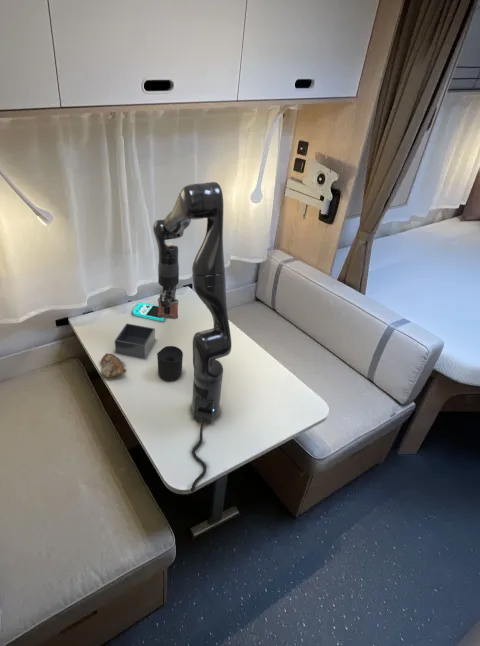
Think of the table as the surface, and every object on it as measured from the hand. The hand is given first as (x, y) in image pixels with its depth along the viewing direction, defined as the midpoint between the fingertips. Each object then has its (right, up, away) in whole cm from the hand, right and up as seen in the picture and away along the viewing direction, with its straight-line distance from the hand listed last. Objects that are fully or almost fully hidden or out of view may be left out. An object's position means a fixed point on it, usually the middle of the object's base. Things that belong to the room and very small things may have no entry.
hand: (168, 311), depth 155 cm
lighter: (0, -2, +1) cm, 3 cm away
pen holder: (+1, -24, -4) cm, 25 cm away
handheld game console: (-8, -1, +32) cm, 33 cm away
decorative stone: (-22, -23, -2) cm, 31 cm away
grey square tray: (-14, -15, +10) cm, 23 cm away
